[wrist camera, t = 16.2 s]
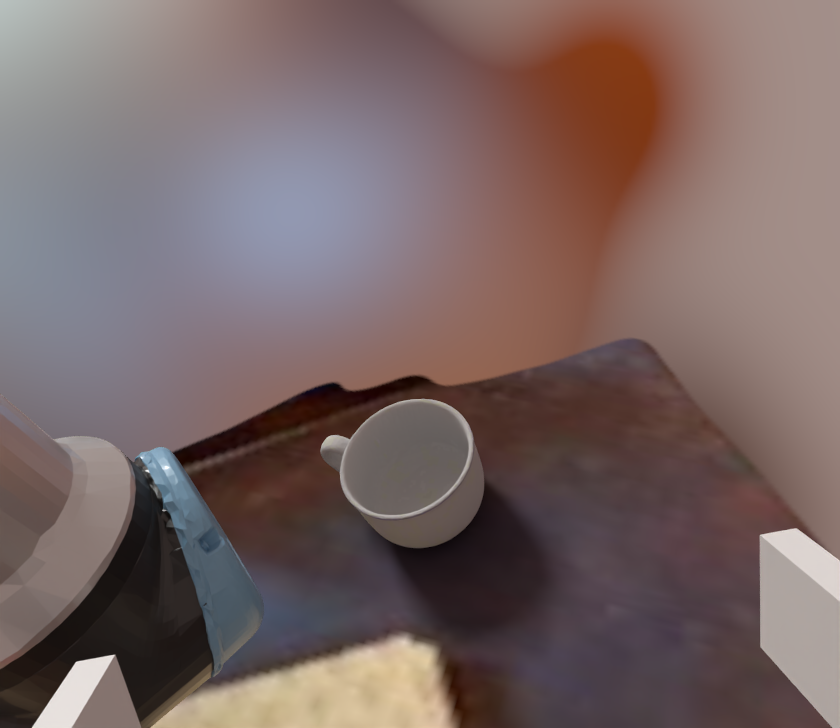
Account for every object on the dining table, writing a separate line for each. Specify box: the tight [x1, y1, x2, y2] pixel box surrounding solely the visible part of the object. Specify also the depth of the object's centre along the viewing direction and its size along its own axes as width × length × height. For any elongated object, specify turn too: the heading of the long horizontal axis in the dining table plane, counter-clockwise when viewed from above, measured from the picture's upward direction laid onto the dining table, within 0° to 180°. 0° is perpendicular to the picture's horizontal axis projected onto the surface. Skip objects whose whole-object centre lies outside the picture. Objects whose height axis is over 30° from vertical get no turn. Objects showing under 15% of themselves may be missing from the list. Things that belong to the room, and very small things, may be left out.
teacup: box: [321, 399, 484, 548], centre depth 47 cm, size 14×11×8 cm
